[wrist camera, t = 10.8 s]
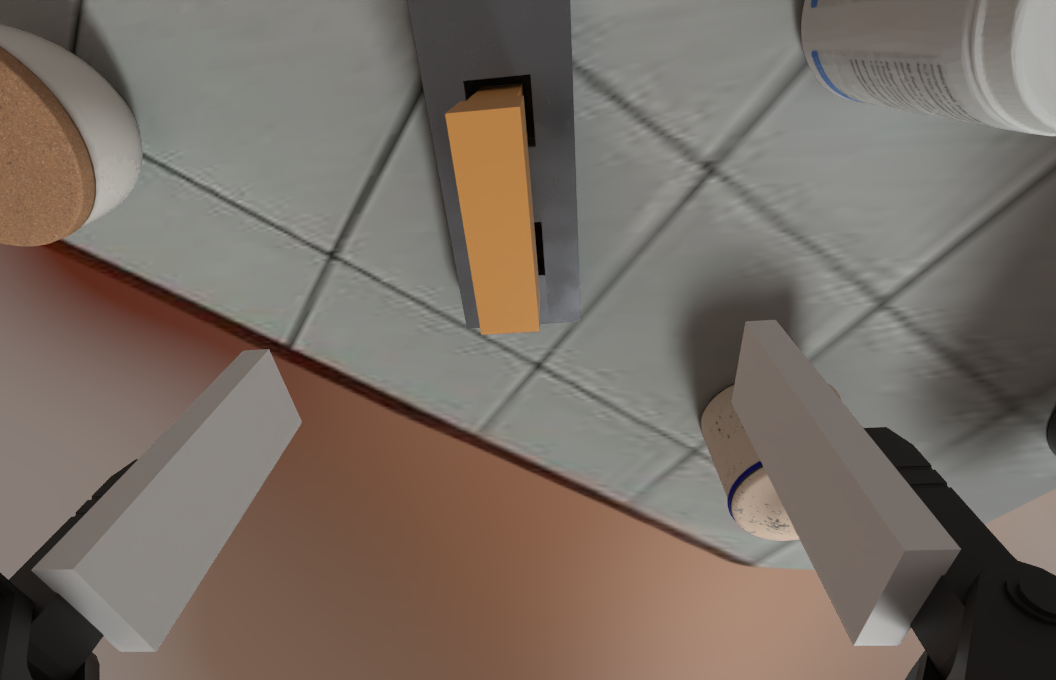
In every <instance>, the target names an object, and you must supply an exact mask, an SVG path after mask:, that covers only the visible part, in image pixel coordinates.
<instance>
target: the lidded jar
mask: <svg viewBox="0 0 1056 680" xmlns="http://www.w3.org/2000/svg"><path fill="white" fill-rule="evenodd" d="M142 154H143V151H142V143H141V138H140V134H139V129H138V125H137V122H136V120H135V118H134V115H133V113H132V112H131V110H130V108H129V106H128V105H127V104H126V102H125V101H124V99H123V98H122V97H121V96H120V95H119V93H118V92H117V91H116V90H115V89H114V88H113V87H112V86H111V85H110V84H109V82H108V81H107V80H106V79H105V78H104V77H102V76H101V75H100V74H99V73H98V72H97V71H96V70H95V69H94V68H92V67H91V66H90V65H88V64H87V63H86V62H84V61H83V60H82V59H80V58H79V57H77V56H76V55H74V54H73V53H71V52H70V51H68V50H66V49H65V48H63V47H61V46H59V45H57V44H55V43H53V42H51V41H49V40H46V39H44V38H42V37H40V36H38V35H35V34H33V33H30V32H27V31H24V30H21V29H17V28H14V27H10V26H7V25H3V24H0V243H2V244H8V245H15V246H38V245H44V244H49V243H51V242H54V241H57V240H59V239H62V238H64V237H66V236H69V235H70V234H72V233H73V232H75V231H76V230H78V229H79V228H81V227H84V226H86V225H88V224H90V223H92V222H94V221H96V220H98V219H100V218H101V217H103V216H104V215H106V214H107V213H109V212H110V211H112V210H113V209H114V208H116V207H117V206H118V205H119V204H120V203H121V202H122V201H124V200H125V198H126V197H127V196H128V195H129V194H130V193H131V191H132V189H133V187H134V186H135V184H136V182H137V180H138V178H139V175H140V171H141V166H142Z"/></svg>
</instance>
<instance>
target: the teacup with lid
mask: <svg viewBox="0 0 1056 680" xmlns="http://www.w3.org/2000/svg"><path fill="white" fill-rule="evenodd" d="M827 384H828V383H827ZM828 385H829V384H828ZM829 386H830V388H831V389H832V390H833V391H834V393H835V394H836V395H837V396H838V397H839V399H840V400H841V398H840V396H839V394H838V393H837V391H836V390H835V389H834V388H833V387H832V386H831V385H829ZM733 389H734V385H733V386H730V387H728V388H727V389H725V390H723V391H722V392H720V393H719V394H718V395H717V396H715V397H714V398H713V399H712V400H711V402H710V403H709V404H708V405H707V407H706V409H705V410H704V413H703V415H702V419H701V431H702V435H703V437H704V440H705V442H706V445H707V447H708V450H709V452H710V455H711V457H712V460H713V462H714V465H715V468H716V470H717V473H718V475H719V478H720V480H721V483H722V485H723V488H724V490H725V493H726V495H727V498H728V509H729V512H730V514H731V516H732V517H733V519H734V520H735V521H736V522H737V523H738V524H739V525H740V526H741V527H742V528H743V529H745V530H746V531H748V532H749V533H751V534H753V535H755V536H758V537H761V538H765V539H770V540H781V541H787V540H798V539H800V538H799V536H798V534H797V532H796V530H795V528H794V526H793V524H792V522H791V520H790V518H789V517H788V515H787V513H786V511H785V509H784V507H783V505H782V503H781V501H780V499H779V497H778V495H777V493H776V491H775V489H774V487H773V485H772V483H771V481H770V479H769V477H768V475H767V473H766V471H765V469H764V467H763V465H762V463H761V461H760V459H759V457H758V455H757V453H756V451H755V449H754V447H753V445H752V443H751V441H750V439H749V437H748V435H747V433H746V431H745V429H744V427H743V425H742V423H741V421H740V419H739V417H738V415H737V413H736V411H735V409H734V407H733V405H732V403H731V401H732V395H733Z"/></svg>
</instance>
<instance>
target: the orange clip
mask: <svg viewBox="0 0 1056 680" xmlns="http://www.w3.org/2000/svg"><path fill="white" fill-rule="evenodd" d="M445 117H446V123H447V129H448V135H449V141H450V147H451V153H452V159H453V165H454V172H455V178H456V184H457V190H458V196H459V202H460V208H461V214H462V220H463V226H464V232H465V238H466V244H467V250H468V257H469V263H470V269H471V275H472V281H473V287H474V293H475V299H476V305H477V311H478V317H479V323H480V329H481V335H485V334H501V333H518V332H535V331H540V288H539V276H538V264H537V252H536V238H535V226H534V216H533V204H532V191H531V179H530V167H529V155H528V143H527V131H526V117H525V105H524V92H523V83H516V84H506V85H496V86H485V87H482V88H480V89H479V90H478V91H477V92H476V93H475V94H474V95H472V96H471V97H470V98H469V99H468V100H467V101H460V102H459V103H457V104H456V105H455V106H454V107H453V108H451V109H450V110H449V111H448V112H446V113H445Z"/></svg>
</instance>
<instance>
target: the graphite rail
mask: <svg viewBox="0 0 1056 680" xmlns="http://www.w3.org/2000/svg"><path fill="white" fill-rule="evenodd" d="M407 2H408V8H409V13H410V19H411V24H412V30H413V35H414V41H415V46H416V52H417V57H418V63H419V68H420V74H421V79H422V84H423V90H424V95H425V101H426V106H427V112H428V117H429V123H430V128H431V134H432V139H433V145H434V150H435V156H436V161H437V167H438V172H439V178H440V183H441V189H442V194H443V200H444V205H445V210H446V216H447V221H448V227H449V232H450V238H451V243H452V249H453V254H454V260H455V265H456V271H457V276H458V282H459V287H460V293H461V298H462V304H463V309H464V315H465V320H466V326H467V328H480V323H479V317H478V311H477V305H476V299H475V293H474V287H473V281H472V275H471V269H470V263H469V257H468V250H467V244H466V238H465V232H464V226H463V220H462V214H461V208H460V202H459V196H458V190H457V184H456V178H455V172H454V165H453V159H452V153H451V147H450V141H449V135H448V129H447V123H446V117H445V113H446V112H448V111H449V110H450V109H451V108H453V107H454V106H455V105H456V104H457V103H459V102H460V101H467V100H468V99H469V98H470V97H471V96H472V95H473V93H472V86H471V80H478V79H488V78H498V77H508V76H518V75H529V74H530V75H531V88H532V102H533V115H534V128H535V137H529V138H527V143H528V155H529V167H530V179H531V191H532V204H533V216H534V222H541V223H542V236H543V250H544V257H540V258H537V264H538V276H539V288H540V324H547V323H564V322H580V321H581V319H580V289H579V258H578V228H577V198H576V167H575V137H574V106H573V76H572V46H571V15H570V0H408V1H407Z"/></svg>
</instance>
